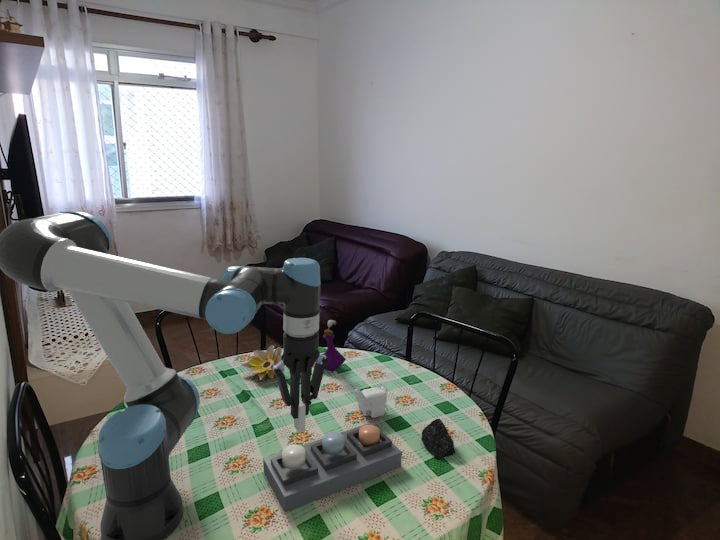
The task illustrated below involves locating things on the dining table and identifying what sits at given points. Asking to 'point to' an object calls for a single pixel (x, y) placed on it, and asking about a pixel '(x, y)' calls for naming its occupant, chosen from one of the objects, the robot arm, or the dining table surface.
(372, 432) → the terracotta button
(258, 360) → the decorative flower
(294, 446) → the ivory button
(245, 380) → the dining table surface
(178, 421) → the robot arm
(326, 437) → the slate button
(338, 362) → the perfume bottle
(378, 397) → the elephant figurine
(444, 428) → the rock
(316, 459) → the console
